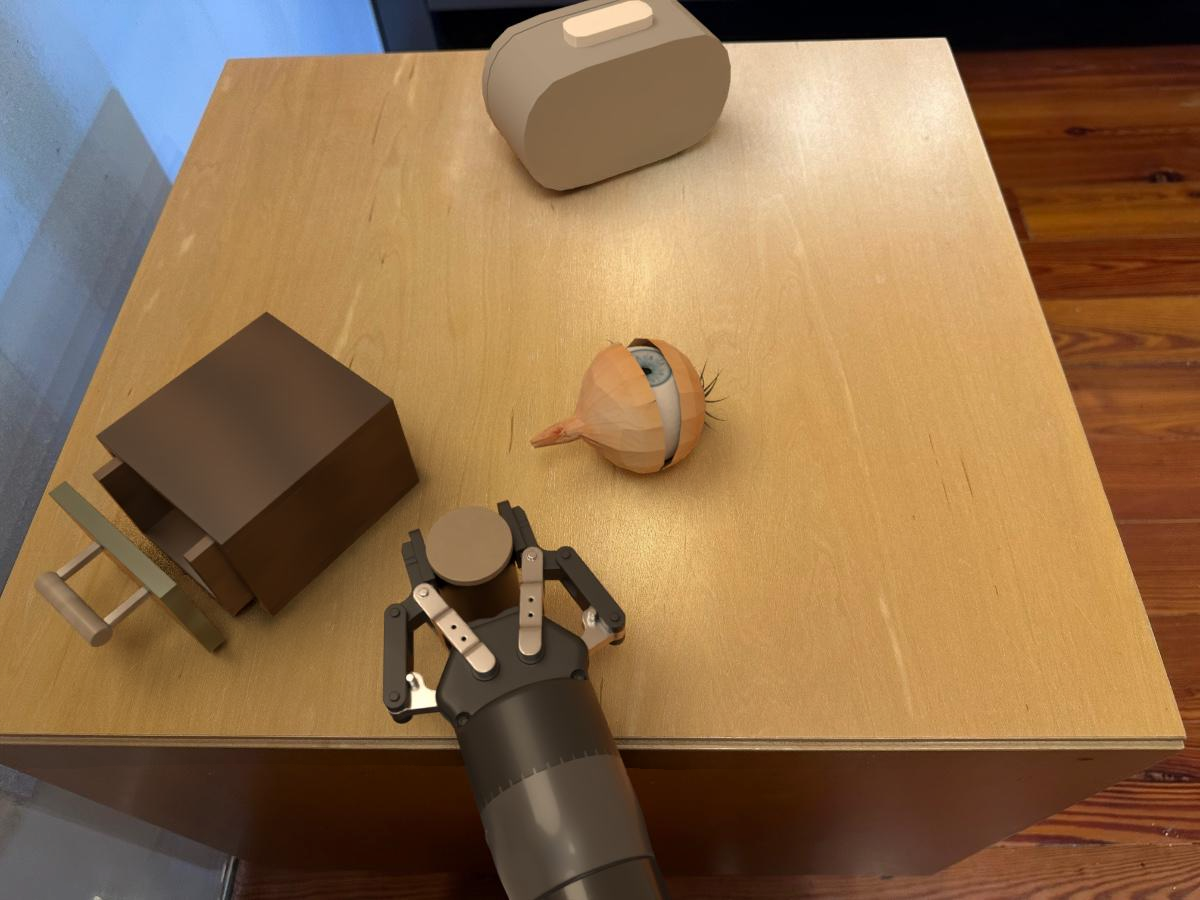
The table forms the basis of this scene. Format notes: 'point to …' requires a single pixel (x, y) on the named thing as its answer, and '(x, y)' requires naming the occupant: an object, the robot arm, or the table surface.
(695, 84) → the alarm clock
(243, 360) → the cabinet
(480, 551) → the tin
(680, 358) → the sculpture
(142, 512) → the drawer
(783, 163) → the table surface
